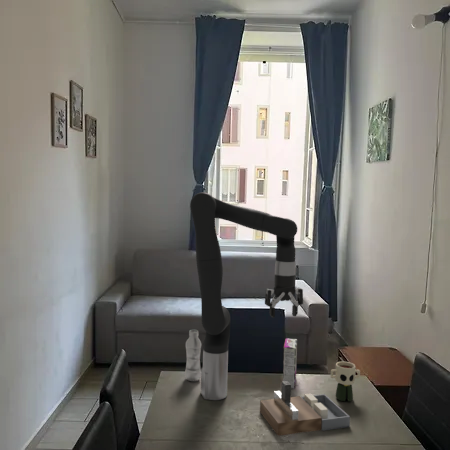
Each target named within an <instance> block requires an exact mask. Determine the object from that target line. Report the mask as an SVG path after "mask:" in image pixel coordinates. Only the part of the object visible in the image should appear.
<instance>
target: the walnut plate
mask: <svg viewBox="0 0 450 450" xmlns="http://www.w3.org/2000/svg"><path fill="white" fill-rule="evenodd" d="M301 397H302V396H301V395H299V396H291V400H290V402H291V403H292V404H293V405H294V407H295V408H296V409H297V410H298V420H293V421H292V420H291V419H290V417H289V416H288V415H287V414H286V413H285V412H284V411H283V409H282V408H281V407H280V406H279V405H278V404H277V403H276V401H275V400H274V398H271V399H263V400H260V401H259V402H260V404H259V412H260V414H261V415H262V416H263V418H264V419H265V420H266V421H267V424H268V425H269V426H270V427H271V428H272V430H273V431H274V432H275V434H276V436H285V435H286V436H288V435H294V434H301V433H308V432H316V431H322V430H321V425H322V418H321V417H320V416H319V415H318V414H317V413H316V412H315V411H314V410H313V409H312V408H311V407H310V406H309V405H308V404H307V403H306V402H305V401H304V400H303V399H302V398H301Z"/></svg>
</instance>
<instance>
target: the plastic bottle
mask: <svg viewBox="0 0 450 450" xmlns="http://www.w3.org/2000/svg"><path fill="white" fill-rule="evenodd" d="M199 334H200V333H199V330H197V329H190V330H189V332H188V339H186V341H185V351H186V362H185V363H186V364H185V371H184V377H185V379H186V381H189V382H199V380H201V361H200V359H201V350H202V341H201V340H200V338H199Z"/></svg>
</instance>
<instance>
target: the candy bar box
mask: <svg viewBox="0 0 450 450" xmlns="http://www.w3.org/2000/svg"><path fill="white" fill-rule="evenodd" d="M297 352H298V339H297V338H288V337H287V338H285V340H284V344H283V368H282V370H283V371H282V381H288V382H289V383H290V384H291V390H292V389H293V390H294V389H295V388H296V381H297V360H298V359H297V357H298V356H297V355H298V353H297Z"/></svg>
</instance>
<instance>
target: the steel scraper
mask: <svg viewBox="0 0 450 450" xmlns="http://www.w3.org/2000/svg"><path fill="white" fill-rule="evenodd" d="M291 393H292V388H291V384H290V383H289V382H288V381H283V380H282V381H281V389H280V390H273V399H274V400H275V401H276V403H277V404H278V405H279V406H280V407H281V408H282V409H283V411H284V412H285V413H286V414H287V415H288V416H289V417H290V419H291V420H292V421H293V420H298V410H297V409H296V408H295V407H294V405H293V404H292V403H291V402H290V400H291V397H292V396H291V395H292V394H291Z"/></svg>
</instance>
